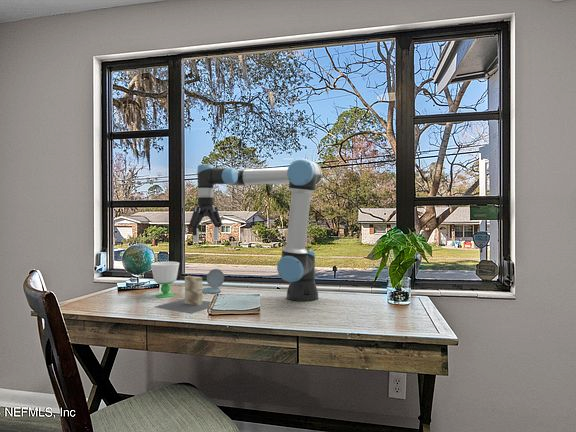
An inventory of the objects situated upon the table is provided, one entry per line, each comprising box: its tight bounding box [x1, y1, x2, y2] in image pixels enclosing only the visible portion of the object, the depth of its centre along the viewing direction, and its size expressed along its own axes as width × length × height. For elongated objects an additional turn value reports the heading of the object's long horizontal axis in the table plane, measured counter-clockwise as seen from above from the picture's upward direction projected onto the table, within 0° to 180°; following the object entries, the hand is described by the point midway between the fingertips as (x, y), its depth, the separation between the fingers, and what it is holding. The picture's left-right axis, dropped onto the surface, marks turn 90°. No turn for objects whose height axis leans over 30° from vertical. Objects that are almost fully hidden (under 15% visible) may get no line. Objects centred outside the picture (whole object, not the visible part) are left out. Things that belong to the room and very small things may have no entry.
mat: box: [154, 298, 212, 315], centre depth 190 cm, size 22×20×1 cm
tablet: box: [184, 275, 203, 306], centre depth 192 cm, size 8×3×12 cm, turn 59°
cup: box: [150, 261, 180, 298], centre depth 212 cm, size 14×14×16 cm
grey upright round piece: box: [202, 268, 225, 295], centre depth 220 cm, size 10×11×15 cm
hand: (206, 241), depth 208 cm, fingers open, 13 cm apart
